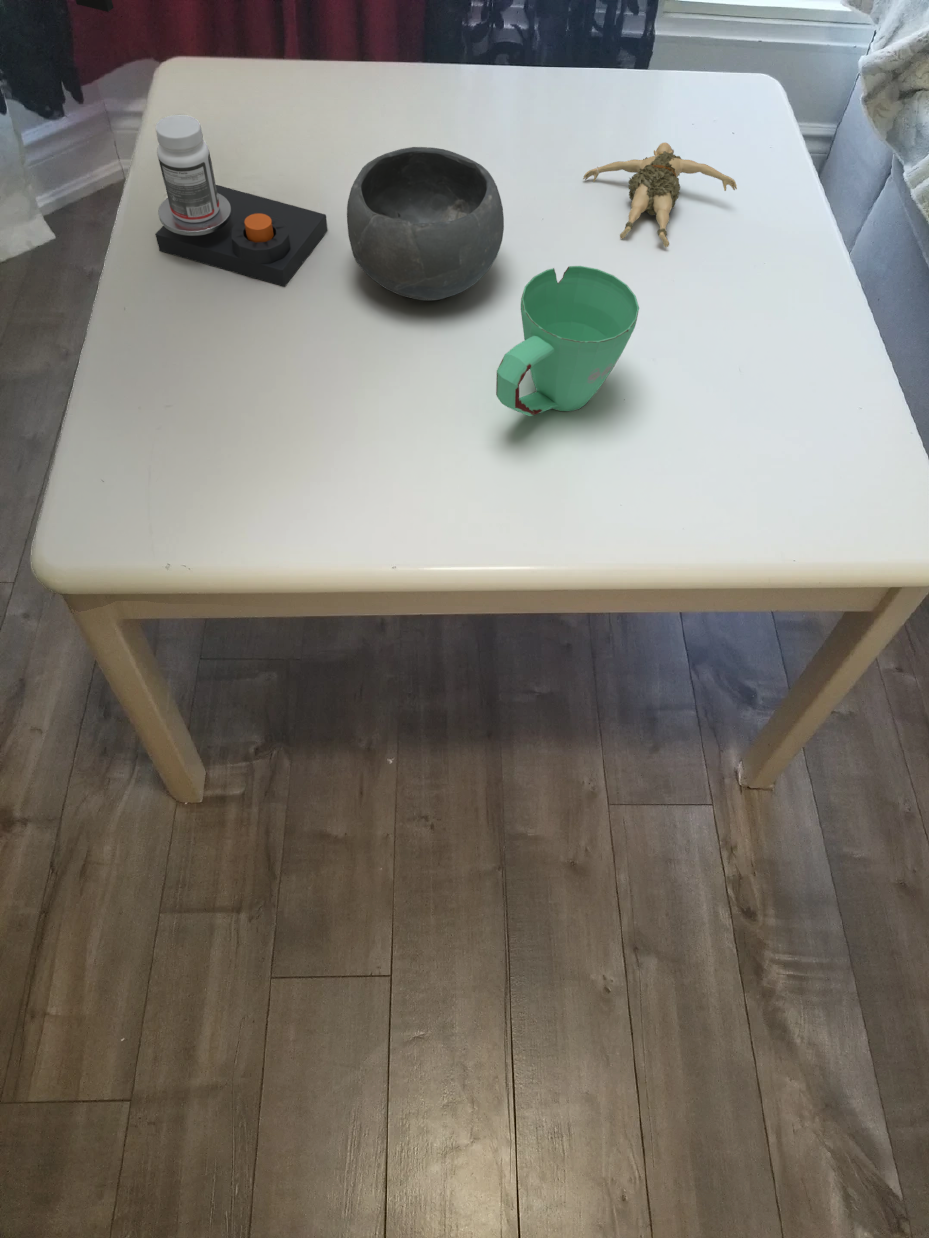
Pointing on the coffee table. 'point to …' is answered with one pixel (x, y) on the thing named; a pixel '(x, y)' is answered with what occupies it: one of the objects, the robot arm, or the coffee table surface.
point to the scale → (253, 259)
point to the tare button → (259, 228)
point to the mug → (567, 339)
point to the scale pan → (195, 228)
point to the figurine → (657, 184)
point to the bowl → (425, 222)
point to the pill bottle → (186, 169)
